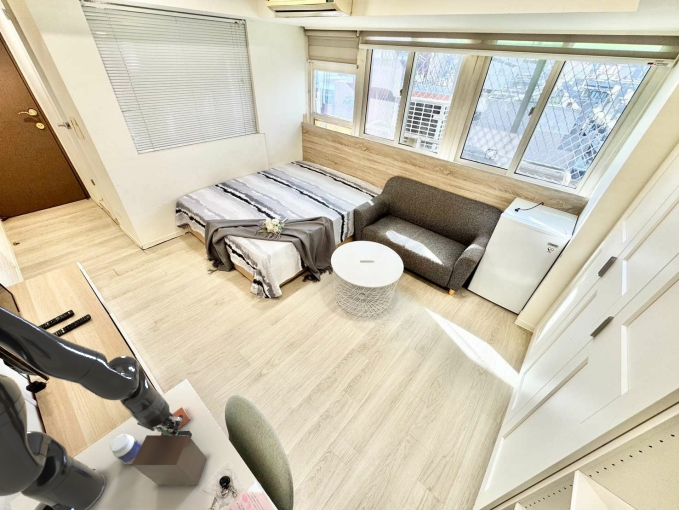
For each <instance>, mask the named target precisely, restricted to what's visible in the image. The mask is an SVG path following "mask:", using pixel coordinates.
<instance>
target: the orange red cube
mask: <svg viewBox="0 0 679 510" xmlns="http://www.w3.org/2000/svg"><path fill="white" fill-rule="evenodd" d="M172 414H173V415H174V417H177V416H179V415H183V418H182V421H181V423H180V425H179V427H178V428H179V429H181V428H182V427H183V426H184V425H186V424H187V423H189V422H190V421H191V418H190V416H189V415H188V413H187V411H186V410H185V409H184V407H183V406H181V407H180V408H178V409H177V410H175V412H173V413H172Z"/></svg>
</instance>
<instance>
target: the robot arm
mask: <svg viewBox="0 0 679 510" xmlns="http://www.w3.org/2000/svg"><path fill="white" fill-rule="evenodd" d="M0 346H1V347H3V348H5V349H6V350H8V351H10V352H11V353H13V354H14V355H15V356H16V357H18V358H20V359H21V360H22V361H23V362H25V363H26V364H27V365H29V366H30V367H31V368H33V369H34V370H35V371H37V372H39V373H41V374H43V375H45V376H48V377H51V378H54V379H57V380H61V381H64V382H65V381H66V382H69V383H74V384H78V385H80V387H82V388H84V389H85V390H87V391H89V392H90V393H92V394H94V395H95V396H97V397H98V398H101V399H104V400H108V401H119V402H120V404H121V405H122V406H123V407H124V408H125V409H126V410H127V411H128V412H129V414H130V415H131V417H132V418H133V419H134V420H135V421H136V422H137V425H138V426H140V427H143V428H145V429H147V430H149V431H151V432H155V431H157V432H160V434H161V433H162V432H161V429H162V428H163V429H164V430H168V431H169V432H170V433H171V434H172V435H176V434H177V432H178V430H179V431H180V428H178V427H179V425H180V423H181V421H182V418H183V415H179V416H177V417H174V415H173V413H172V412H170V404H169V403H168V402H167V401H166V400H165V398H164V397H163V396H162V395H161V393H160V392H159V391H158V390H156V389H155V387H154V386H153V385H152V384H151V383H150V382H149V380H148V378H147V376H146V373H145V371H144V368H143V367H142V364H141V363H140V361H138V360H137V358H135V357H133V356H130V355H120V356H115V357H114V358H112V359H110V361H108V358H107V356H106V355H105V354H104V353H102V352H100V351H98V350H95V349H92V348H90V347H86V346H84V345H81V344H78V343H75V342H73V341H70V340H67V339H65V338H63V337H61V336H58V335H55V334H53V333H52V332H50V331H48V330H46V329H44V328H42V327H40V326H39V325H36V324H35V323H33V322H31V321H29V320H28V319H26V318H24V317H22V316H21V315H20V316H19V315H18V314H16V313H14V312H12V311H11V310H9V309H8V308H6V307H4V306H2V305H0ZM26 403H27V402H26V399H25V397H24V395H23V393H22V390H21V388H20V386H19V384H18V383H17V382H16V381H15V380H14V379H13V378H12V377H10V376H8V375H4V374H1V373H0V497H8V496H12V495H15V494H18V493H20V494H21V495H22V496H24V497H27V498H29V499H32V500H34V501H37V502H39V503H41V504H44V505H47V506H49V507H51V508H52V510H90V509H91V508H92V507H93V506H94V505H95V504H96V503H97V502H98V500H99V499H100V498H101V497H102V495H103V493H104V491H105V489H106V483H107V481H106V480H107V479H106V477H105V476H104V475H103V474H101V473H99V472H97V471H96V468H91V467H89V466H88V465H86V464H84V463H83V462H81V461H79V460H77V458H75V457H72V455H70V454H68V451H67V448H66V447H65V446H64V445H63V444H62V443H60V442H59V441H58V440H56V439H55V438H54V437H53V436H51V435H50V434H48V433H45V432H43V431H37V430H29V431H28V407H27V404H26ZM162 434H163V433H162ZM163 435H164V434H163Z"/></svg>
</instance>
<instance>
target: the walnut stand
mask: <svg viewBox="0 0 679 510" xmlns="http://www.w3.org/2000/svg"><path fill="white" fill-rule="evenodd" d="M207 459H208V458H207V456H206V455H205V453H204V452H203V451H202V450H201V449H200V448H199V446H198V445H197V444H196V443H195V441H194V440H193V439H192V437H191V438H190V437H189V436H188V435H161V434H159V435H156V434H155V435H153V434H151V435H150V434H149V435H147V434H146V436H145V438H144V440H143V442H142V443H141V447H140V449H139V451H138V453H137V455H136V457H135V459H134V461H133V463H131V466H132V467H133V468H134V469H136V470H137V471H139V472H140V473H141V474H143V476H146V477H147V478H148V479H149V480H151V481H152V482H154V483H155V484H156V485H158V486H198V485H199V482H200V480H201V476H202V473H203V470H204V467H205V464H206V462H207Z"/></svg>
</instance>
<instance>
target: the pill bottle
mask: <svg viewBox="0 0 679 510" xmlns="http://www.w3.org/2000/svg"><path fill="white" fill-rule="evenodd" d="M141 445H142V443H140V442H139V441H138V440H137V439H136V438H135V437H134V436H132V435H128V434H126V433H121V434H119V435H117V436H116V437H114V439H112V441H111V443H110V445H109V448H110V451H111V452H112V455H113V456H114V457H115V458H117V459H118V460H119V461H120V462H122V463H123V464H124V465H132V463H133V461H134V459H135V457H136V455H137V453H138V451H139V449H140V447H141Z"/></svg>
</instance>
